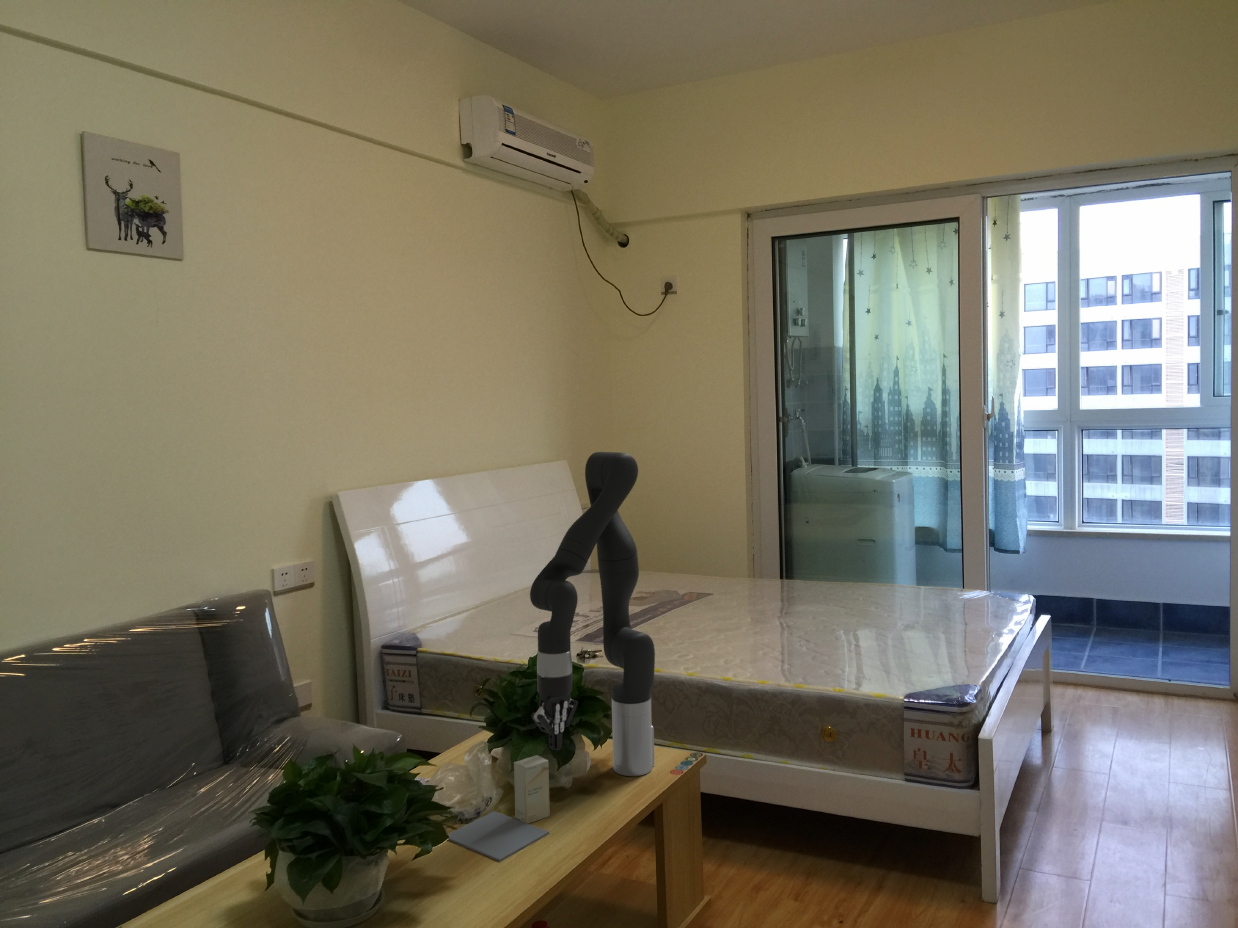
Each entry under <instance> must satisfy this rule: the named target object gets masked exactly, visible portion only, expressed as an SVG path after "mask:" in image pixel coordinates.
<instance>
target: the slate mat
mask: <svg viewBox="0 0 1238 928" xmlns="http://www.w3.org/2000/svg"><path fill="white" fill-rule="evenodd" d="M447 834H448V835H449V840H448V841H449V842H452V843H455V844H457V845H460V846H463V847H465V848H466V849H469V850H472V851H474V852H476V853H478V854H481V855H484V856H486V857H488V858H491V859H493V860H495V861H498V862H502V861H503V860H505V859H507V858H508V857H511V856H512V855H514V854H517V853H518V852H519V851H521V850H523V849H525V848H526V847H528V846H530V845H532V844H534V843H535V842H537V841H539V840H541V839H543V838H544V837H546V836H548V835H550V831H548V830H546V829H544V828H541V827H538V826H535V825H532V824H530V823H525V822H522V821H520V820H519V819H517V818H514V817H511V816H509V815H506V814H503V813H501V812H498V811H495V810H493V811H491V812H489V813H488V814H485V815H483V816H481V817H479V818H477V819H475V820H473V821H471V822H470V823H467V824H465V825H463V826H461V827H459V828H458V829H456V830H454V831H452V832H449V833H447Z"/></svg>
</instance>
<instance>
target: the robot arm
mask: <svg viewBox="0 0 1238 928" xmlns="http://www.w3.org/2000/svg"><path fill="white" fill-rule="evenodd" d="M638 466H639V465H638V463H637V460H636V459H635V457H634V456H633V455H632V454H630V453H626V452H620V451H619V452H618V451H616V452H615V451H595V452H593V453H591V454H590V456H589V457H588V458H587V460H586V463H585V468H584V469H585V470H584V476H585V477H584V478H585V484H586V489H587V495H588V500H589V504H590V507H588V508H587V510H586V511H585V512H584V513H583V514H582V515H579V516H580V517H579V518H577V519H576V520H575V521H574V522H573V523H572V524H571V525H570V526H569V527H568V529H567V531H566V533H565V534H564V536H563V537H562V539H561V542H560V544H559V546H558V548H557V550H556V552H555V554H554V556H553V557H552V558H551V559H550V560H549V562H548V563H547V564H546V565H545V566H544V568H543V569H541V571H540V572H539V573H538V574H537V576H536V577H535V579H534V580H533V582H532V584H531V587H530V591H529V592H530V593H529V598H530V599H529V600H530V603H531V604H532V605H533V607H535V608H536V609H538V610H541V611H547V612H551V616H550V620H547V621H544V622H542V623H540V624H539V625H538V629H537V658H536V667H537V668H536V682H537V683H536V685H537V686H536V687H537V688H536V689H537V693H538V695H539V696H540V697H539V698H540V699H539V702H538V707H539V708H538V709H537V711H536V712H532V713H531V715H530V716H531V718H532V720H533V721H534V723H535V724H536V725H537V727H538V728H539V729H540V731H541V732H543V733H547V734H548V747H549V748H550V750H552V751H558V750H561V749H562V748H563V747H562V746H563V732H564V730H565V728H566V727H567V728H568V727H570V724H571V722H572V719H573V717H574V714H575V712H576V710H577V708H578V704H579V702H578V700H576V699H575V700H574V699H572V696H571V693H572V691H573V661H572V660H573V658H572V650H571V649H572V647H571V630H572V627H573V624H574V618H575V614H576V611H577V610H576V609H577V606H578V601H579V600H578V598H579V597H578V592H577V589H576V587H575V586H574V584H573V583H572V582H570V581H569V580H567V579H569V578H570V577H576V576H579V575H581V574H582V573H583V571H584V570H585V567H586V566H587V564H588V561H589V559H590V557H591V555H592V553H593V551H594V548H595V547H596V555H597V565H598V566H597V567H598V574H599V580H600V581H599V582H600V589H601V590H600V591H601V592H600V593H601V602H602V637H603V638H602V640H603V641H602V643H603V644H602V645H603V651H604V653H603V654H604V656H605V659H606V661H608V663H610V664H611V665H613V666H614V667H617V668H620V669H622V670H623V674H622V675H623V678H622V681H621V680H620V681H618V682H616V683H614V684H613V685H612V687H611V720H612V721H611V723H612V724H611V725H612V726H611V727H612V732H611V733H612V770H613V771H614V772H615V773H616V774H618V775H622V776H625V777H626V776H627V777H637V776H643V775H646V774H648V773H650V772H651V771H652V770H653V767H654V766H655V727H654V726H653V725H652V724H653V723H652V689H653V687H654V682H655V664H656V660H655V659H656V653H655V651H656V650H655V645H654V641H653V639H652V637H651V636H650V635H649V634H647V633H645V632H641V631H638V630H635V629H632V626H631V621H630V620H631V619H630V613H629V611H630V610H629V609H630V600H631V598H632V595H633V593H634V591H635V588H636V585H637V583H638V579H639V576H640V575H639V574H640V569H639V568H640V567H639V557H638V549H637V545H636V542H635V541H634V538H633V535H632V533H631V532H630V530H629V529H628V527H627V526H626V524H625V522H624V521H623V519H622V516H621V515H620V512H619V509H620V507H621V506H622V504H623V503H624V501H625V500H626V498H627V497H628V496H629V494H630V493H631V491H632V489H634V488H633V487H635V485H636V482H637V479H638V475H639V467H638Z"/></svg>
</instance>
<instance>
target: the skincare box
mask: <svg viewBox="0 0 1238 928" xmlns="http://www.w3.org/2000/svg"><path fill="white" fill-rule="evenodd" d="M549 769H550V768H549V760H548V759H546V758H544V757H542V756H541V755H537V754H536V755H533V756H530V757H526V758H523V759H520V760H517V761H514V762H513V770H514V771H513V773H514V774H513V775H514V776H513V777H514V778H513V779H514V782H513V783H514V810H515V811H514V813H515V814H514V817H515V819H517V820H520V821H522V822H525V823H528V824H530V823H534V822H536V821H539V820H543V819H546V818H548V817H550V815H551V814H550V811H551V810H550V809H551V807H550V781H549V780H550V779H549V778H550V773H549Z"/></svg>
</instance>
